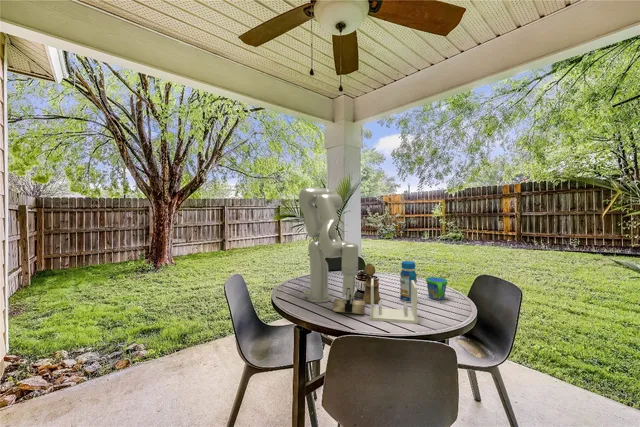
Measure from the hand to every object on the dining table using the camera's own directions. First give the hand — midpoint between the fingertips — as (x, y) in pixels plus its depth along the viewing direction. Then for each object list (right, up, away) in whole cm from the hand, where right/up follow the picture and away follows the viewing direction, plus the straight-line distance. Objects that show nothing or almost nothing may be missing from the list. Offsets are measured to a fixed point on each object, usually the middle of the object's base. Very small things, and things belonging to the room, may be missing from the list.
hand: (349, 309), depth 130 cm
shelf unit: (+19, -2, -4) cm, 20 cm away
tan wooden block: (0, -1, 0) cm, 1 cm away
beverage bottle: (+33, -1, +17) cm, 37 cm away
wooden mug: (+14, -2, +18) cm, 23 cm away
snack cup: (+49, -1, +20) cm, 53 cm away
